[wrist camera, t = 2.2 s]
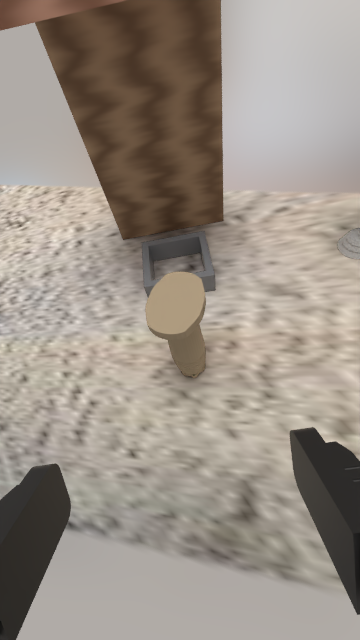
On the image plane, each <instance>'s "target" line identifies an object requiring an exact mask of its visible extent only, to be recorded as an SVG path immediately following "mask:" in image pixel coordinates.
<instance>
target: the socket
mask: <svg viewBox="0 0 360 640" xmlns="http://www.w3.org/2000/svg"><path fill="white" fill-rule="evenodd" d="M196 253H201V256H202V261H203V266H204V271H202V272H196V273H192V274H195V275H196V276H198V277H199V278H201V280H202V283H203V287H204V291H205V292H207V291H212V290H215V275H214V270H213V266H212V262H211V257H210V253H209V249H208V244H207V240H206V236H205V231H201V232H195V233H190V234H185V235H179V236H174V237H169V238H163V239H158V240H153V241H147V242H142V259H143V276H144V288H145V291H146V293H147V296H148V298H149V295H150V293H151V291H152V289H153V287H154V286H155V285H156V284H157V283H158V282H159V281H160V280H161V279H157V280H155V279H154V267H153V261H158V260H163V259H169V258H174V257H180V256H185V255H190V254H196Z"/></svg>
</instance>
